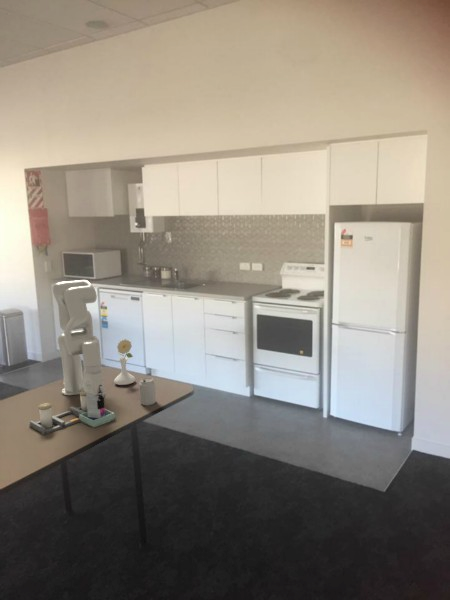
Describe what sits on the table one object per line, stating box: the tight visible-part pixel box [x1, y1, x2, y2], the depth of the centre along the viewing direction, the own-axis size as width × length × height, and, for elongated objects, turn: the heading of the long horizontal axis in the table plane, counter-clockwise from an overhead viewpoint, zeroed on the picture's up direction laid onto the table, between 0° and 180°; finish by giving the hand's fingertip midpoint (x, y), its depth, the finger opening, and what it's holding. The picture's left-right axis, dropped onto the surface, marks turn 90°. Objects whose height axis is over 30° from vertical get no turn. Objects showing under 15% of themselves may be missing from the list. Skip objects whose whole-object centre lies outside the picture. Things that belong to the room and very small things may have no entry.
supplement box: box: [86, 392, 106, 419], centre depth 225 cm, size 6×6×12 cm
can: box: [138, 377, 157, 407], centre depth 242 cm, size 8×8×12 cm
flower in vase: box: [113, 338, 136, 386], centre depth 270 cm, size 13×11×25 cm
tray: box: [78, 408, 116, 428], centre depth 226 cm, size 11×11×3 cm
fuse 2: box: [79, 390, 88, 412], centre depth 234 cm, size 5×5×10 cm
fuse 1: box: [38, 402, 54, 430], centre depth 220 cm, size 5×5×10 cm
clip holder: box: [28, 406, 85, 435], centre depth 228 cm, size 13×30×2 cm, turn 137°
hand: (95, 405), depth 225 cm, fingers closed on supplement box, 7 cm apart
